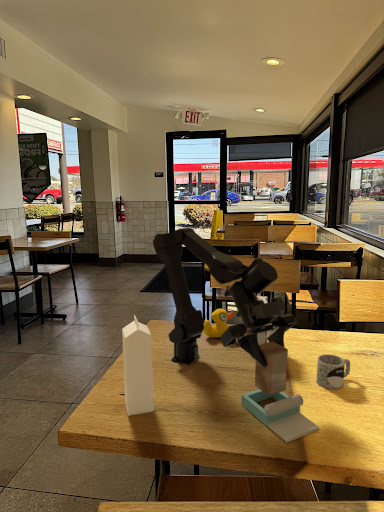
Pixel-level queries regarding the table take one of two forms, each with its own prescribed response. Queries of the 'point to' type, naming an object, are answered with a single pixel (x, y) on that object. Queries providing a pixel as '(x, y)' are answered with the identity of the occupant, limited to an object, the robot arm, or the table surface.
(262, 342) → the candy bar box
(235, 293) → the robot arm
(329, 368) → the mug
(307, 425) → the teal rectangular frame
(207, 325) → the duckling
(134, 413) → the milk
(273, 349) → the brown block
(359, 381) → the table surface
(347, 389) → the table surface
